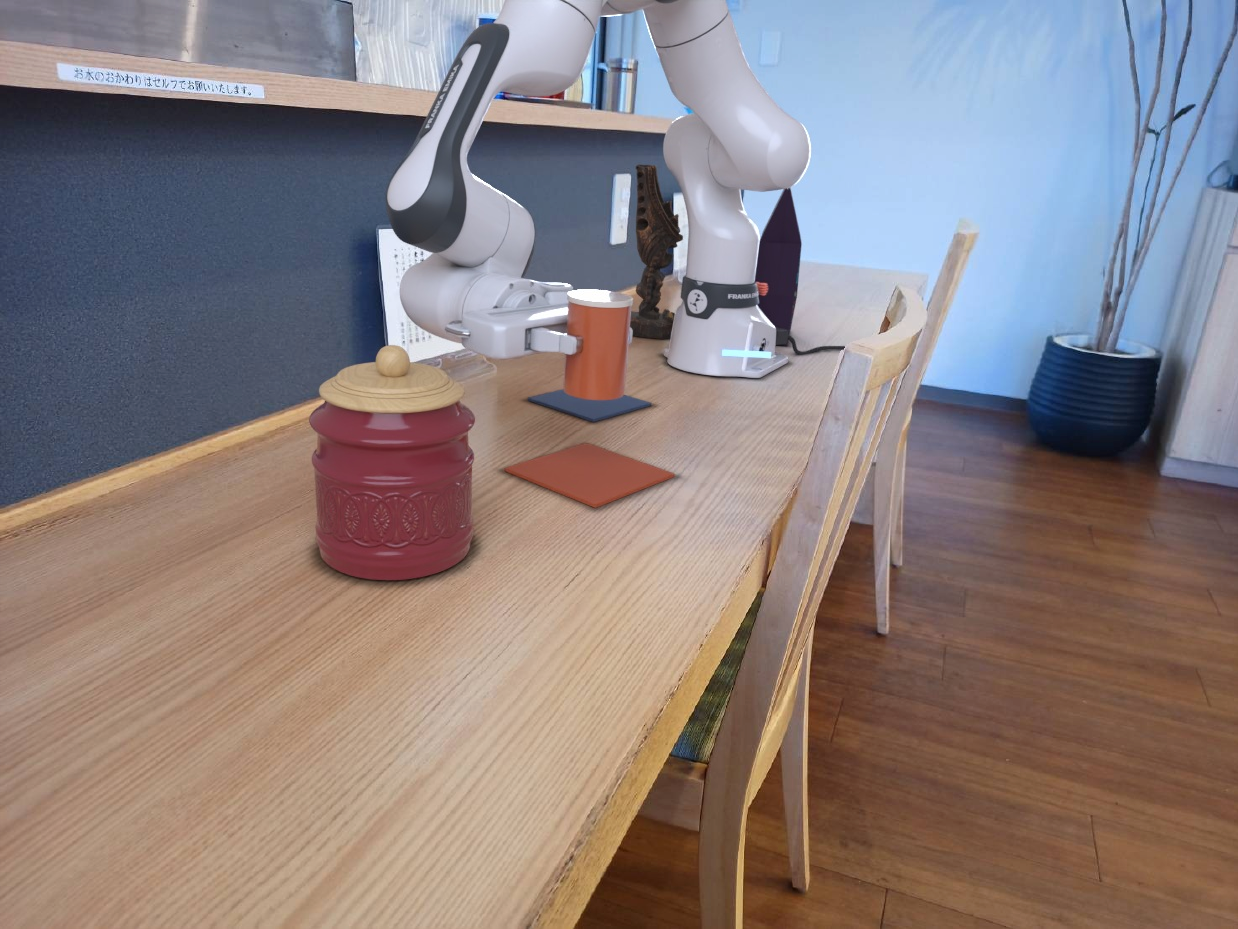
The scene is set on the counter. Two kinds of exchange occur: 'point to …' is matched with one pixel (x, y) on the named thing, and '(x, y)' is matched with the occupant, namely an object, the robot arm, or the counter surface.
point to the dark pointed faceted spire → (780, 263)
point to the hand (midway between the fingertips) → (604, 341)
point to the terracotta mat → (590, 474)
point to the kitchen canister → (393, 469)
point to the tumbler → (598, 344)
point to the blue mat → (588, 405)
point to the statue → (653, 254)
